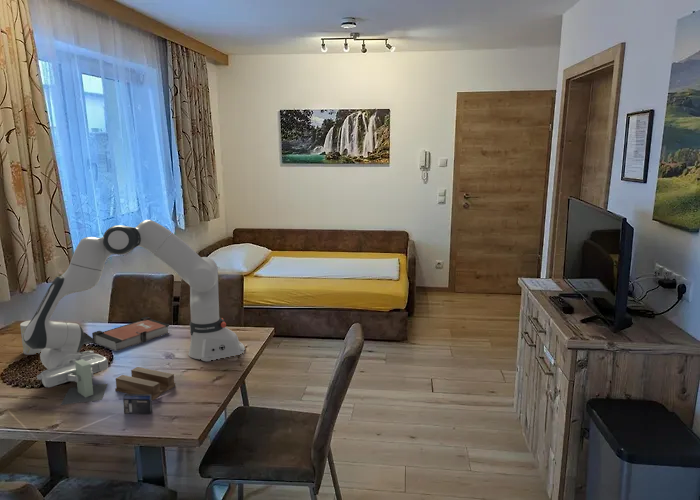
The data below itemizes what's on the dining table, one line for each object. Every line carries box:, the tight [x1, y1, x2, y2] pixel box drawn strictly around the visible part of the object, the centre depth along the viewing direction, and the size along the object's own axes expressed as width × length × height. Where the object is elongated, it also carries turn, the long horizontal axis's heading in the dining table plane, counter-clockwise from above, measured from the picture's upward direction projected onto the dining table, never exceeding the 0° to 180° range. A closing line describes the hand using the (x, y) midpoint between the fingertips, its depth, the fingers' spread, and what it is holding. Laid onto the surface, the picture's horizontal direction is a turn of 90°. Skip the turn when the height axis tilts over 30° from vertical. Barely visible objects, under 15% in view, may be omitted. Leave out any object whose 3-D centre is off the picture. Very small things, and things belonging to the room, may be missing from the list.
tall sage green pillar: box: [75, 359, 94, 398], centre depth 162 cm, size 2×6×11 cm, turn 51°
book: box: [91, 316, 170, 352], centre depth 214 cm, size 26×18×5 cm
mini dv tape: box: [122, 393, 153, 415], centre depth 152 cm, size 8×2×6 cm, turn 90°
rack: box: [114, 366, 176, 401], centre depth 168 cm, size 11×16×5 cm
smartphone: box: [82, 331, 94, 346], centre depth 212 cm, size 8×1×15 cm
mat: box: [60, 383, 108, 406], centre depth 163 cm, size 12×12×1 cm
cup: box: [20, 319, 42, 356], centre depth 198 cm, size 8×8×12 cm
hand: (85, 377), depth 161 cm, fingers closed on tall sage green pillar, 2 cm apart
